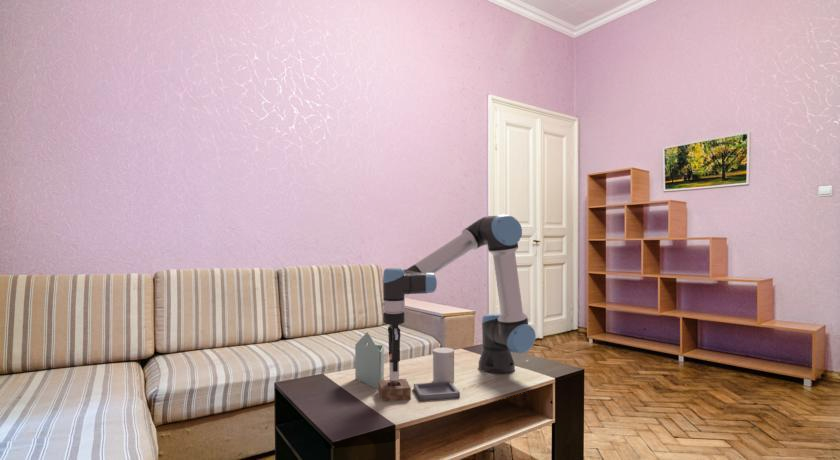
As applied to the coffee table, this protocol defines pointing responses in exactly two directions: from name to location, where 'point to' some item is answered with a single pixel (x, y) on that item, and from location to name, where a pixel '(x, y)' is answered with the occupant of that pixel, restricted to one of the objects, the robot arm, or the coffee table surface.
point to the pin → (392, 383)
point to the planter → (369, 361)
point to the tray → (436, 391)
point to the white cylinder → (443, 365)
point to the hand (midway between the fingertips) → (394, 378)
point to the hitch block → (394, 390)
